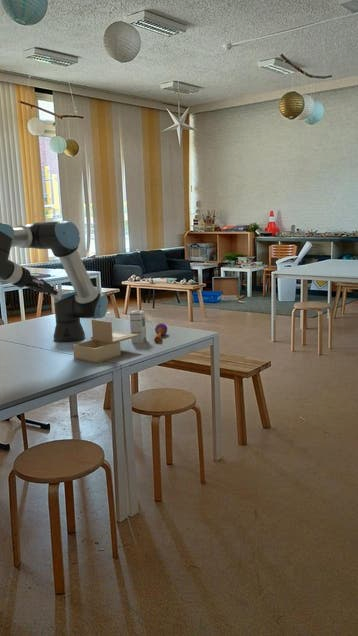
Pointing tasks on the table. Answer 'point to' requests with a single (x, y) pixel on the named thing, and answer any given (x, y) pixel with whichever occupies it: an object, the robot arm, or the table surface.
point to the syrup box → (138, 326)
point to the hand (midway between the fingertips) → (60, 296)
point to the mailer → (96, 351)
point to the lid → (108, 332)
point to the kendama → (160, 332)
